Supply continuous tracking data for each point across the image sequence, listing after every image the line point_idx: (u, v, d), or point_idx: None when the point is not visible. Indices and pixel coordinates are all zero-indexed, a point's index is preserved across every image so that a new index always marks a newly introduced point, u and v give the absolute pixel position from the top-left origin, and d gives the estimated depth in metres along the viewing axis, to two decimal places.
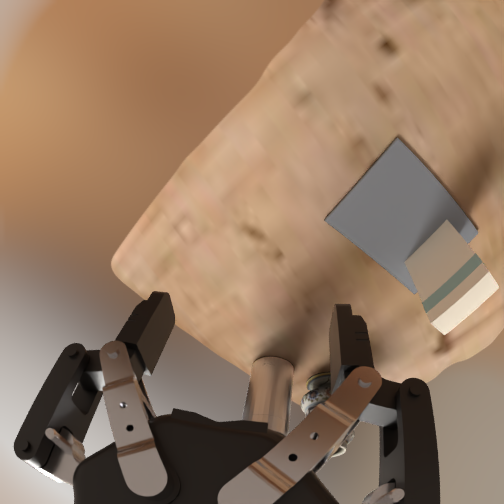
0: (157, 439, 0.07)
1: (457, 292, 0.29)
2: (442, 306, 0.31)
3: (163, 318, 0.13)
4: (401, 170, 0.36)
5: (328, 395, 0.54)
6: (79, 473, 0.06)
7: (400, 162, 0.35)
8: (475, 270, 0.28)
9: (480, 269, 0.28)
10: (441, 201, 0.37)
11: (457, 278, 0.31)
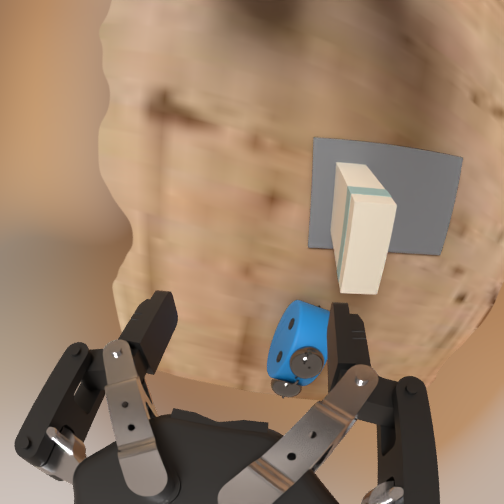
0: (158, 439, 0.07)
1: None
2: None
3: (166, 317, 0.13)
4: (426, 236, 0.39)
5: None
6: (79, 473, 0.06)
7: (430, 241, 0.39)
8: None
9: None
10: None
11: None
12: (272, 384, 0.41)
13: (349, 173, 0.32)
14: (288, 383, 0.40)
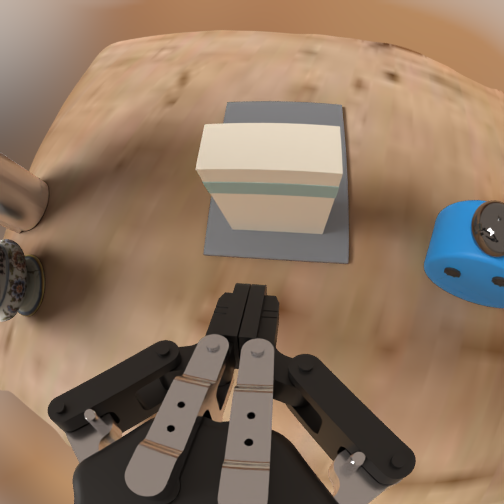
0: (190, 451, 0.07)
1: None
2: None
3: None
4: (320, 122, 0.35)
5: (14, 254, 0.30)
6: (88, 464, 0.06)
7: (326, 117, 0.35)
8: None
9: None
10: None
11: None
12: None
13: None
14: None
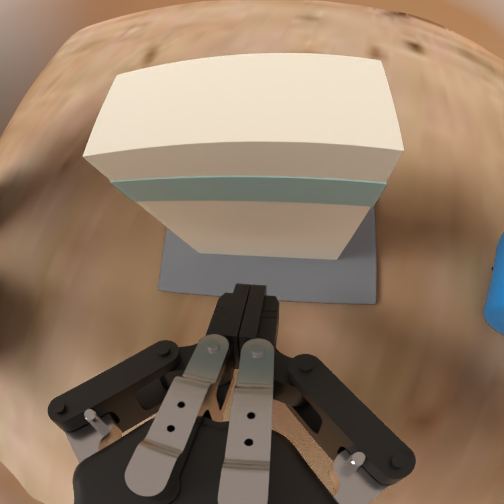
0: (190, 451, 0.07)
1: None
2: None
3: None
4: None
5: None
6: (88, 464, 0.06)
7: None
8: None
9: None
10: None
11: None
12: None
13: None
14: None
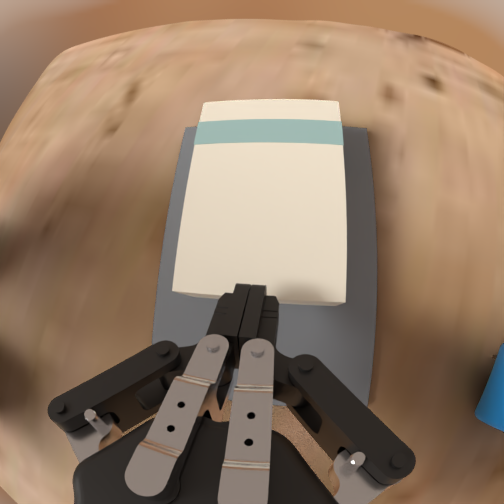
0: (190, 451, 0.07)
1: None
2: None
3: None
4: None
5: None
6: (87, 464, 0.06)
7: (343, 151, 0.22)
8: None
9: None
10: (354, 264, 0.20)
11: None
12: None
13: None
14: None
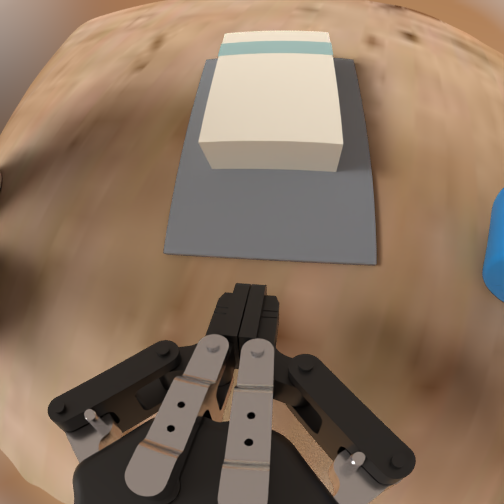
0: (190, 451, 0.07)
1: None
2: None
3: None
4: None
5: None
6: (88, 464, 0.06)
7: None
8: None
9: None
10: (348, 142, 0.23)
11: None
12: None
13: None
14: None
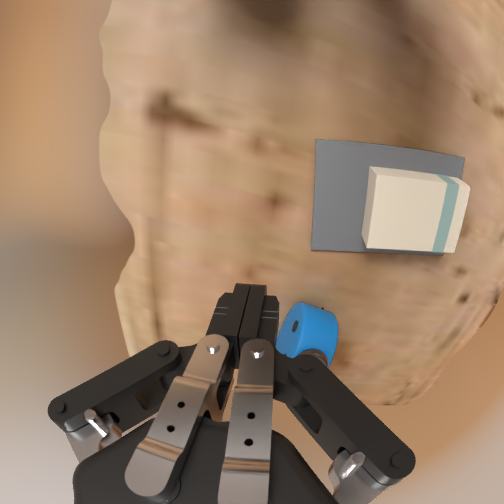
0: (190, 451, 0.07)
1: None
2: None
3: None
4: None
5: None
6: (88, 464, 0.06)
7: None
8: None
9: None
10: None
11: None
12: None
13: (412, 176, 0.32)
14: None
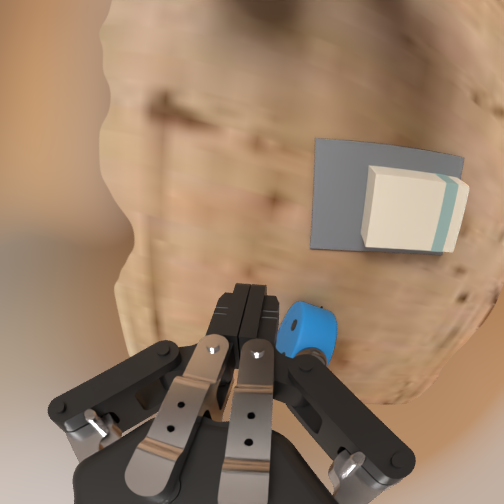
0: (190, 451, 0.07)
1: None
2: None
3: None
4: None
5: None
6: (88, 464, 0.06)
7: None
8: None
9: None
10: None
11: None
12: None
13: (411, 175, 0.32)
14: None
